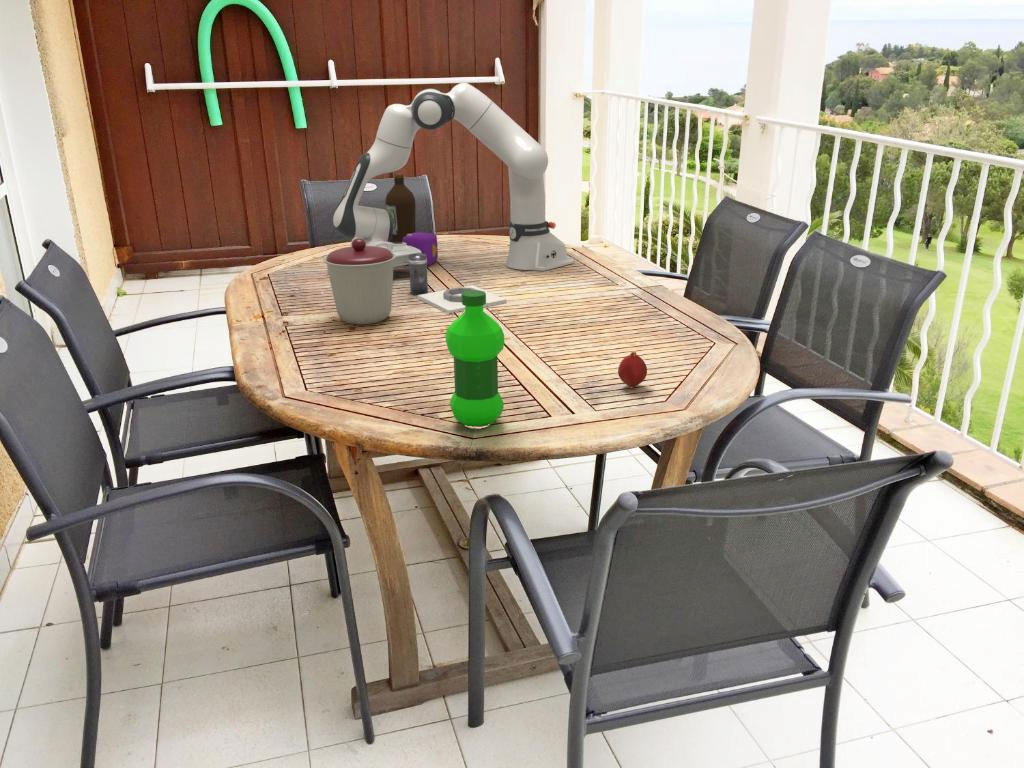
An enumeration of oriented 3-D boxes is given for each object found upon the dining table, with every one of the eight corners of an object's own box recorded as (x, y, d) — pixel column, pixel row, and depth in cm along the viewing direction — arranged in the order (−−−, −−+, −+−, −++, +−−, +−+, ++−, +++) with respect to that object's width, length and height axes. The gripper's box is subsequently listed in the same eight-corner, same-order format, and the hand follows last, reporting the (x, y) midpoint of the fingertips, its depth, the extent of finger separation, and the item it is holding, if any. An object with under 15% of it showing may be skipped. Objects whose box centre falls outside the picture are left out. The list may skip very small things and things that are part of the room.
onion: (614, 383, 168) (616, 346, 165) (642, 381, 168) (644, 345, 165) (620, 393, 163) (622, 356, 160) (648, 392, 163) (651, 355, 160)
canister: (357, 305, 222) (350, 229, 214) (413, 313, 214) (408, 234, 207) (315, 324, 207) (306, 242, 199) (373, 333, 199) (366, 249, 192)
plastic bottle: (453, 411, 155) (448, 285, 146) (508, 413, 154) (506, 286, 145) (444, 434, 146) (438, 300, 137) (502, 436, 145) (500, 301, 136)
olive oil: (408, 239, 301) (404, 170, 291) (423, 244, 293) (419, 173, 283) (383, 243, 295) (378, 173, 286) (396, 248, 287) (392, 176, 278)
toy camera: (442, 257, 274) (440, 228, 270) (434, 267, 261) (433, 236, 257) (410, 257, 275) (409, 227, 271) (401, 267, 262) (399, 236, 258)
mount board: (473, 288, 237) (472, 280, 236) (506, 302, 223) (506, 294, 222) (418, 298, 228) (417, 289, 227) (449, 314, 214) (448, 305, 213)
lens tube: (423, 289, 236) (421, 252, 232) (431, 293, 232) (429, 255, 228) (407, 292, 234) (404, 254, 230) (415, 296, 230) (413, 258, 226)
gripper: (348, 250, 244) (366, 258, 234) (409, 241, 255) (429, 249, 244) (350, 270, 247) (368, 280, 236) (410, 261, 257) (430, 269, 246)
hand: (400, 264), depth 240 cm, fingers open, 8 cm apart
